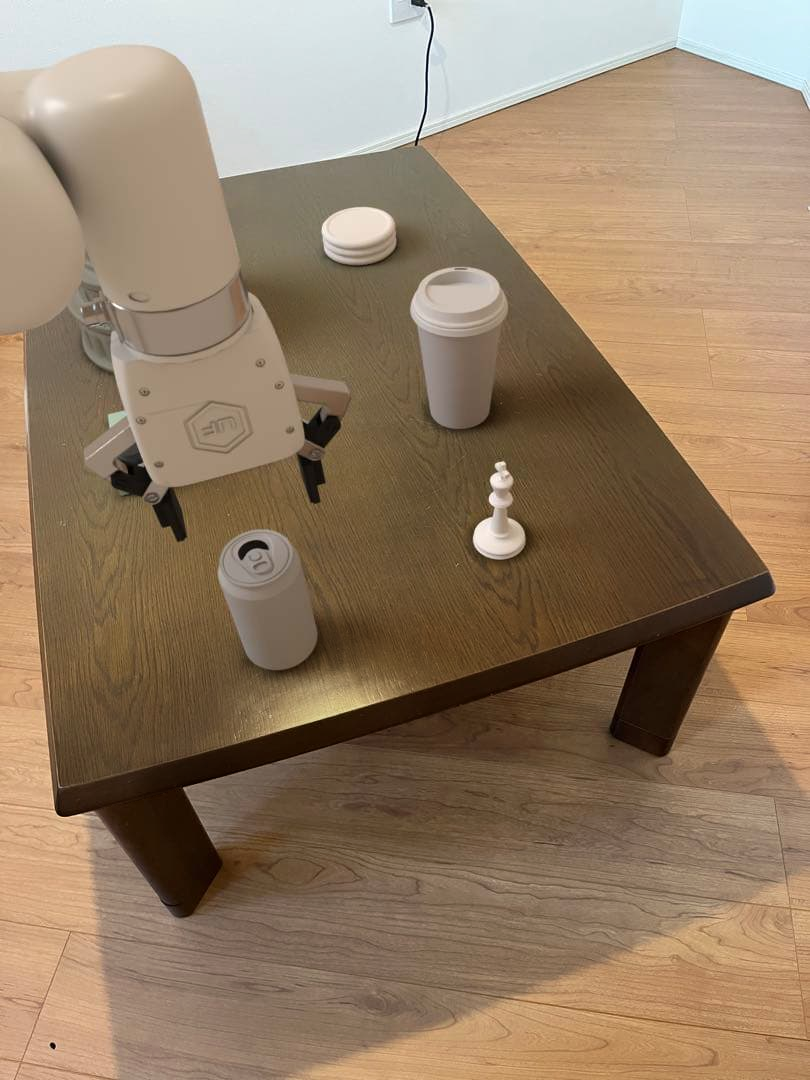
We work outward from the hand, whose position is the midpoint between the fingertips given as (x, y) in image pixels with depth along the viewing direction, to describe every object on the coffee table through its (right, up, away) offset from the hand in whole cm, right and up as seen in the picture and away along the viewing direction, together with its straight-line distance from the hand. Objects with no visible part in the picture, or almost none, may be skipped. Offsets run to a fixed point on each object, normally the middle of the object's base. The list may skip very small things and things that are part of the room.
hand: (246, 508), depth 59 cm
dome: (-19, +24, +45) cm, 54 cm away
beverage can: (+1, -11, +13) cm, 17 cm away
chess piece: (+20, -2, +19) cm, 28 cm away
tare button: (-16, +6, +26) cm, 31 cm away
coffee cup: (+17, +12, +32) cm, 38 cm away
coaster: (+5, +38, +55) cm, 67 cm away
